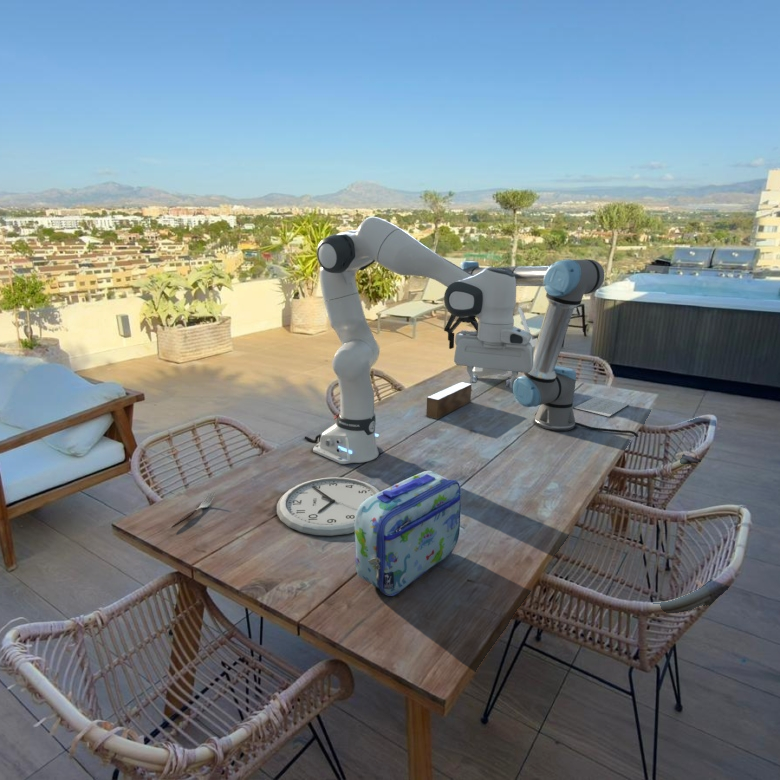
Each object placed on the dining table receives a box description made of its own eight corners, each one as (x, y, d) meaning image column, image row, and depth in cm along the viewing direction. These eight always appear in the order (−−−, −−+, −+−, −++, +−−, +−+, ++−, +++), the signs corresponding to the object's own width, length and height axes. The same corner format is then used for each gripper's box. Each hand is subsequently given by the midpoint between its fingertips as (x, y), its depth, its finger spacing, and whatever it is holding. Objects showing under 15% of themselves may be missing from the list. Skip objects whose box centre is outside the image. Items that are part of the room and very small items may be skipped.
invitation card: (608, 416, 214) (573, 407, 224) (608, 416, 214) (573, 408, 224) (628, 404, 229) (594, 396, 238) (628, 405, 229) (594, 397, 238)
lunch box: (383, 609, 104) (384, 516, 98) (348, 583, 111) (347, 495, 105) (463, 555, 122) (469, 473, 115) (429, 536, 129) (432, 458, 123)
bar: (460, 399, 233) (461, 381, 230) (470, 401, 230) (471, 384, 227) (426, 416, 211) (427, 397, 209) (437, 419, 208) (437, 399, 206)
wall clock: (392, 527, 129) (268, 531, 127) (391, 533, 130) (269, 537, 127) (383, 473, 158) (282, 475, 155) (383, 478, 158) (282, 480, 156)
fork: (167, 528, 130) (166, 521, 130) (209, 498, 145) (208, 492, 144) (175, 530, 130) (174, 523, 129) (216, 500, 144) (216, 494, 143)
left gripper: (452, 331, 134) (449, 383, 138) (533, 338, 127) (528, 392, 131) (458, 327, 140) (456, 377, 144) (537, 334, 133) (531, 386, 137)
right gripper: (437, 298, 220) (435, 348, 226) (491, 303, 205) (488, 355, 211) (446, 296, 225) (444, 345, 231) (499, 301, 211) (496, 352, 217)
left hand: (491, 384), depth 138 cm, fingers open, 8 cm apart
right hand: (465, 350), depth 221 cm, fingers open, 13 cm apart
